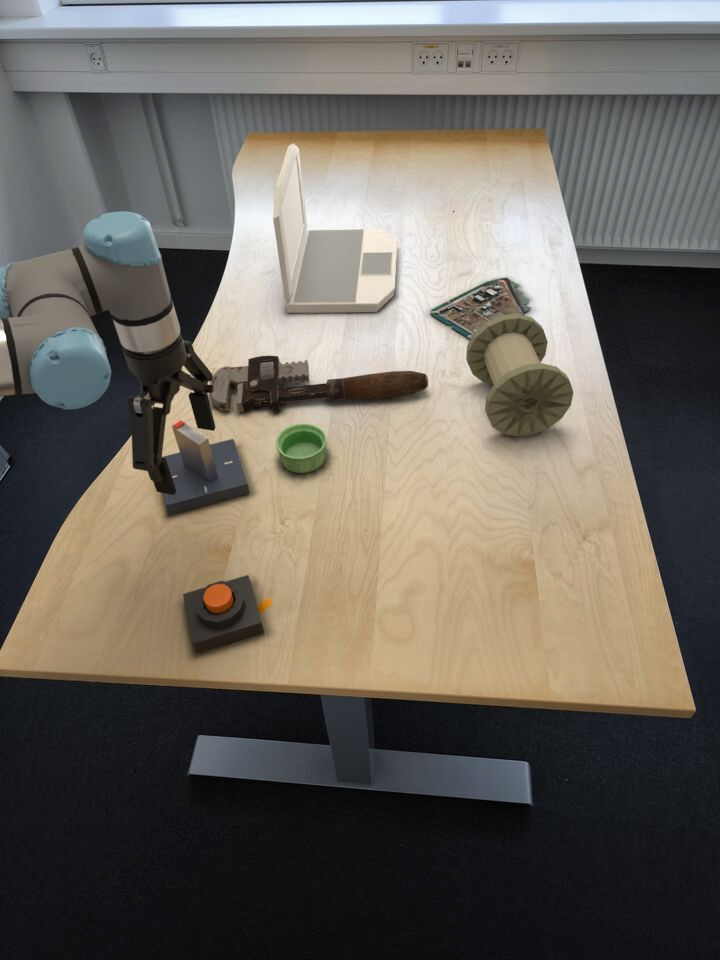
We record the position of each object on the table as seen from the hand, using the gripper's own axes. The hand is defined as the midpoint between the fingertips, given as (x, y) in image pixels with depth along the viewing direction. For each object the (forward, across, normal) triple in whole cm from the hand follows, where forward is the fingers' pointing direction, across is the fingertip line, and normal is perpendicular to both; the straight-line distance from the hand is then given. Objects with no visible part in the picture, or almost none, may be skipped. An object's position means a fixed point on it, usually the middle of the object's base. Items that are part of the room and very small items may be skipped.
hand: (187, 458), depth 107 cm
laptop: (+18, -82, -2) cm, 84 cm away
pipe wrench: (+18, -40, +6) cm, 44 cm away
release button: (+14, +14, +9) cm, 21 cm away
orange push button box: (+18, +14, +9) cm, 24 cm away
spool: (+18, -43, +43) cm, 63 cm away
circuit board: (+18, -74, +32) cm, 82 cm away
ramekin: (+18, -21, +9) cm, 29 cm away
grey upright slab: (+15, -11, -6) cm, 20 cm away
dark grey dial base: (+18, -11, -6) cm, 22 cm away
